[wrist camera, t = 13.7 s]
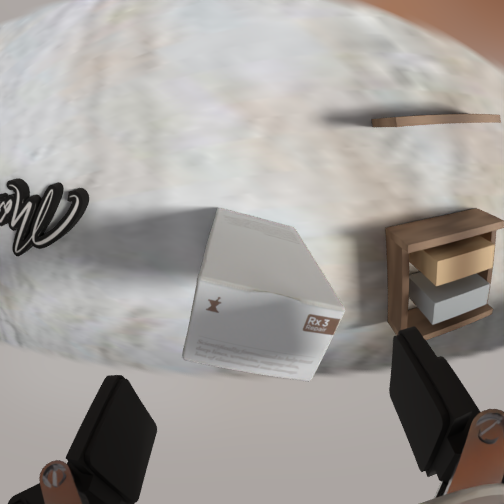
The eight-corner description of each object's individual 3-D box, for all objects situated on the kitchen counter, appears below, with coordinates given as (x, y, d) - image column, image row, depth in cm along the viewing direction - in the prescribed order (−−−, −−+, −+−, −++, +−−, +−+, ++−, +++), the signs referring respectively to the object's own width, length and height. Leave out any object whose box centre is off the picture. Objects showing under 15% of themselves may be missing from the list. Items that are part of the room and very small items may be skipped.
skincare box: (205, 258, 24) (173, 366, 12) (218, 202, 22) (189, 275, 11) (282, 276, 24) (309, 391, 13) (300, 223, 23) (349, 310, 11)
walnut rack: (469, 113, 19) (499, 114, 16) (470, 294, 26) (491, 314, 22) (371, 119, 20) (395, 117, 16) (387, 321, 26) (404, 347, 22)
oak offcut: (460, 225, 23) (494, 244, 18) (459, 245, 24) (492, 267, 19) (406, 237, 23) (437, 261, 19) (407, 259, 24) (436, 286, 19)
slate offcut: (459, 260, 24) (490, 283, 20) (457, 279, 25) (486, 304, 20) (407, 275, 25) (434, 303, 20) (406, 294, 25) (432, 324, 21)
